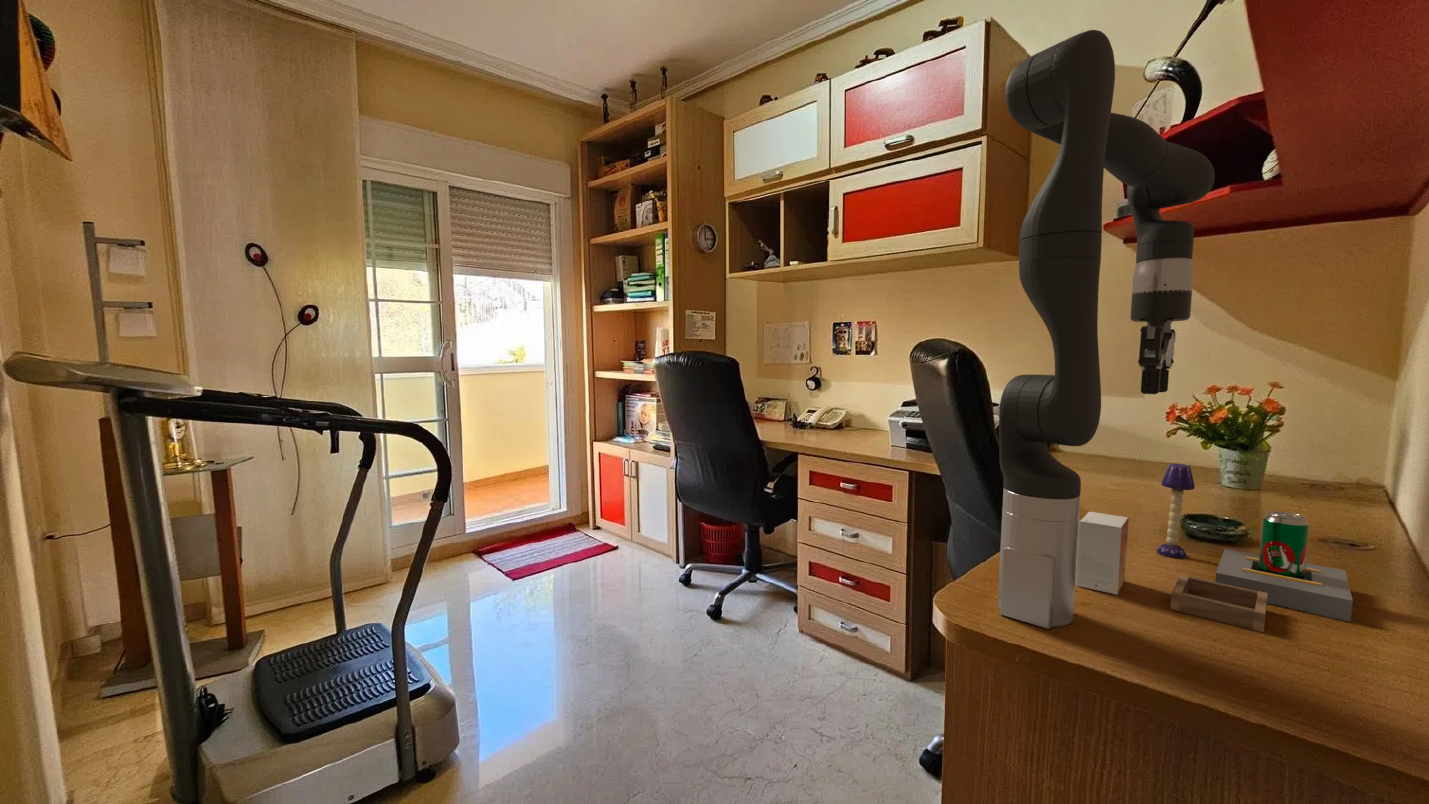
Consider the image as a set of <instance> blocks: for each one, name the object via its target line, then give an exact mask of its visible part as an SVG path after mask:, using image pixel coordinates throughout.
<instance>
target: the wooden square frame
mask: <svg viewBox="0 0 1429 804" xmlns="http://www.w3.org/2000/svg"><path fill="white" fill-rule="evenodd" d="M1267 595H1268V593H1265V592H1261V591H1256V590H1251V589H1247V588H1242V587H1237V586H1233V585H1228V584H1223V583H1219V582H1215V580H1210V579H1209V580H1208V579H1204V578H1200V577H1196V576H1195V577H1194V576H1192V575H1191V576H1189V575H1185V574H1180V576H1179V578H1178V580H1177V581H1176V583H1175V585H1174V587H1173V588H1172V590H1171V594H1170V610H1173V611H1176V612H1180V613H1184V614H1189V615H1192V616H1196V617H1200V618H1205V619H1208V620H1212V621H1215V622H1220V623H1225V624H1228V625H1232V626H1236V627H1240V628H1244V629H1248V630H1252V631H1256V632H1260V633H1264V631H1265V624H1266V623H1265V622H1266V617H1267V616H1266V614H1267V606H1268V603H1267Z"/></svg>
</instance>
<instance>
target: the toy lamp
mask: <svg viewBox="0 0 1429 804" xmlns="http://www.w3.org/2000/svg"><path fill="white" fill-rule="evenodd" d="M1160 484H1161V486H1163V487H1165V488H1168V489H1169V488H1170V489H1171V490H1170V491H1171V492H1170V493H1171V496H1170V502H1171V503H1170V505H1169V510H1170V512H1169V514H1168V518H1169V520H1168V522H1167V526H1168V529H1167V530H1166V534H1167V535H1166V536H1167V537H1166V539H1165V541H1166V543H1162V544H1160V545H1159V546H1158V547H1157V549H1156V553H1157V554H1159V555H1160V556H1164V557H1167V558H1171V559H1186V558H1187V552H1186V550H1185V549H1184V548H1183V547H1182V546H1180V545H1179V538H1178V537H1179V536H1180V528H1181V519H1182V513H1181V512H1182V511H1183V510H1182V509H1183V505H1182V504H1183V500H1184V499H1183V495H1184V491H1193V490H1195V481H1194V476H1193V473H1192V469H1191V467H1190V465H1187V464H1184V463H1183V464H1182V463H1170V464H1168V466H1167V468H1166V471H1165V473H1164V476H1163V478H1162V480H1161V483H1160Z"/></svg>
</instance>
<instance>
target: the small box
mask: <svg viewBox="0 0 1429 804" xmlns="http://www.w3.org/2000/svg"><path fill="white" fill-rule="evenodd" d="M1129 522H1130V521H1129V517H1126V516H1121V515H1113V514H1107V513H1101V512H1095V511H1088V512H1087V513H1086V514H1085V515H1084V517H1083V518H1081V519H1079V525H1078V542H1077V559H1076V577H1075V587H1076V586H1077V587H1080V588H1085V589H1090V590H1095V591H1099V592H1103V593H1108V594H1113V595H1117V596H1118V595H1119V592H1120V590H1121V588H1122V586H1123V585H1124V583H1125V580H1126V577H1125V576H1126V575H1125V574H1126V564H1127V563H1126V561H1127V547H1128V546H1127V545H1128V535H1129V534H1128V533H1129Z"/></svg>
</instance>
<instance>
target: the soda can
mask: <svg viewBox="0 0 1429 804" xmlns="http://www.w3.org/2000/svg"><path fill="white" fill-rule="evenodd" d="M1309 531H1310V524H1309V523H1308V521H1307V517H1306V516H1305V515H1302V514H1300V513H1299V514H1298V513H1295V512H1294V513H1293V512H1287V511H1280V510H1279V511H1278V510H1267V511H1266V512H1265V515H1264V516H1263V517H1262V521H1261V531H1260V545H1259V554H1258V555H1259V567H1258V571H1261V572H1266V573H1271V574H1276V575H1281V576H1287V577H1292V578H1297V579H1302V580H1304V577H1305V566H1306V563H1307V552H1308V542H1309Z"/></svg>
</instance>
